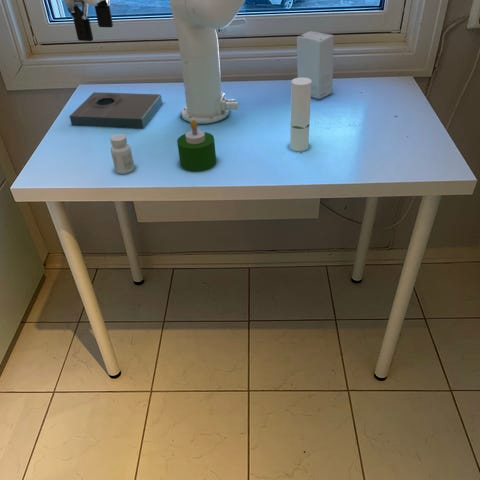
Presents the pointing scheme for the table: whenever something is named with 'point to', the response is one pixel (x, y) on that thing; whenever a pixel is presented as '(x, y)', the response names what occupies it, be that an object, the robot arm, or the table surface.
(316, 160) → the table surface
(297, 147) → the tube
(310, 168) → the table surface
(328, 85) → the cosmetic box
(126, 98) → the plate
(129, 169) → the pill bottle
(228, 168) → the table surface
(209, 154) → the candle
